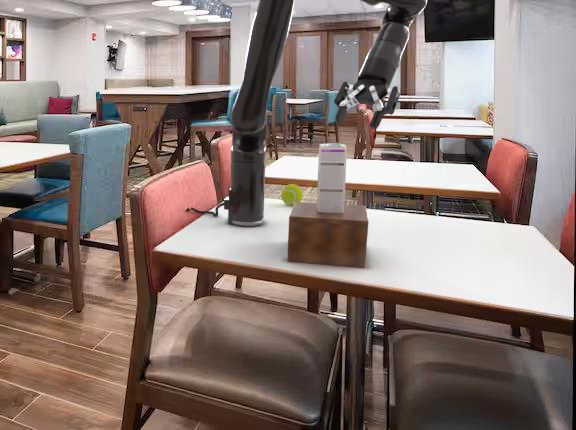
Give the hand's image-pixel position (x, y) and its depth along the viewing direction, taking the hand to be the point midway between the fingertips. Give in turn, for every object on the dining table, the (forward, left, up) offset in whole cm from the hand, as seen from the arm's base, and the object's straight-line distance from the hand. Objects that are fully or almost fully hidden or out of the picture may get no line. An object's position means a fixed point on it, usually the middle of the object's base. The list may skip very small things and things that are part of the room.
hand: (355, 125), depth 126 cm
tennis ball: (-17, +35, -28) cm, 48 cm away
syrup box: (-5, -13, -18) cm, 23 cm away
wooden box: (-5, -13, -28) cm, 31 cm away
